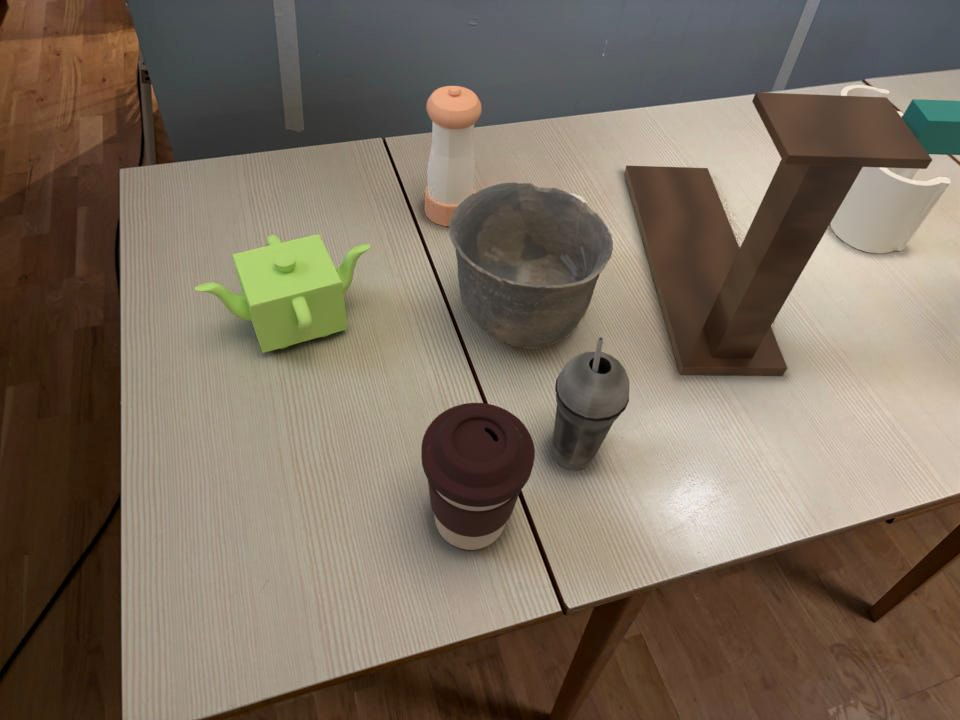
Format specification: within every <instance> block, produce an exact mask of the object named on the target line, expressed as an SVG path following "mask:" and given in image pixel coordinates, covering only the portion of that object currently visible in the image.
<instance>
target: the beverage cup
mask: <svg viewBox="0 0 960 720" xmlns="http://www.w3.org/2000/svg"><path fill="white" fill-rule="evenodd" d="M604 339H605V338H604V337H603V336H598V338H597V341H596V346H595V350H593V351H585V352H582V353H579V354H577V355H575V356H573V357H572V358H571V359H570V360H569V361H568V362H566V363H565V364H564V366H563V368H562V369H561V371H560V372H559V374H558V376H557V378H556V380H555V388H554V390H555V398H556V399H555V401H556V410H555V417H554V426H553V434H552V451H551V453H552V456H553V459H554V460H555V462H556V463H557V464H558V465H559V466H561V467H562V468H564V469H567V470H569V471H579V470H580V471H581V470H583V469H586V468H587V467H589V465H591V462H592V461H593V459H594V458H595V457H596V455H597V453H598V452H599V450H600V448H601V446H602V444H603V443H604V441H605V439H606V437H607V435H608V433H609V431H610V430H611V428H612V426H613V424H614V423H615V421H616V420H617V419H618V418H619V417H620V415H622V413H623V412H625V410H626V409H627V406H628V404H629V402H630V378H629V375H628V373H627V371H626V369H625V367H624V366H623V364H622V363H621V362H620V360H618V359H617V358H615V357H614V356H612V355H611V354H609V353H606V352H604V351H602V350H603V344H604Z"/></svg>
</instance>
